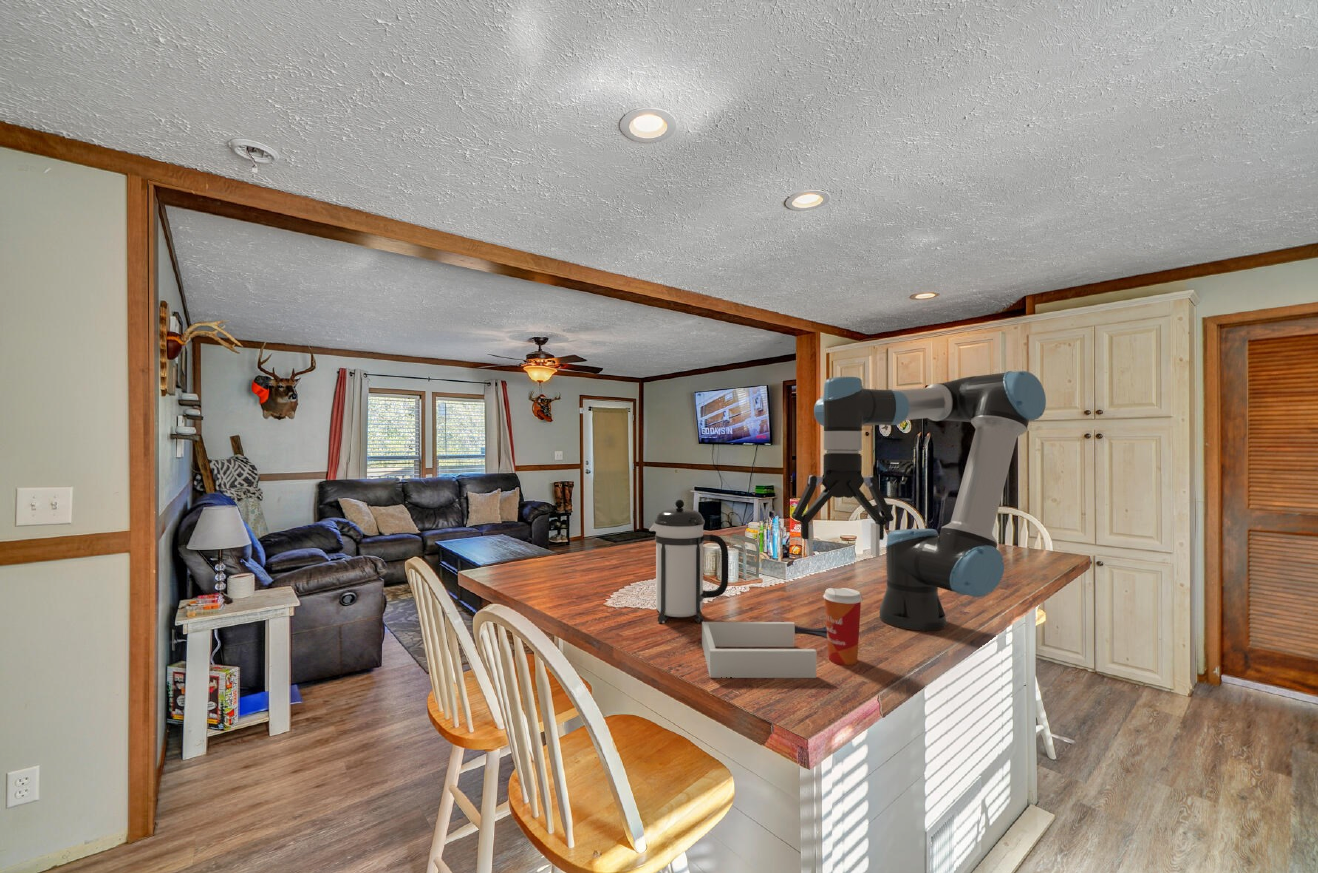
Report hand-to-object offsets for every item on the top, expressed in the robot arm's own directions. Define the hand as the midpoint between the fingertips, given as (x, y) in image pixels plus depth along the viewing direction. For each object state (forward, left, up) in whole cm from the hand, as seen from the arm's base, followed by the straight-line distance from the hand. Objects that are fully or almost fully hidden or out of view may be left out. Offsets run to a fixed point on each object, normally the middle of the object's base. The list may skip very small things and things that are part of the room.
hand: (842, 555), depth 114 cm
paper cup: (0, 0, -22) cm, 22 cm away
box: (+18, 0, -21) cm, 28 cm away
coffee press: (+31, -29, -22) cm, 48 cm away
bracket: (+2, -17, -22) cm, 28 cm away
